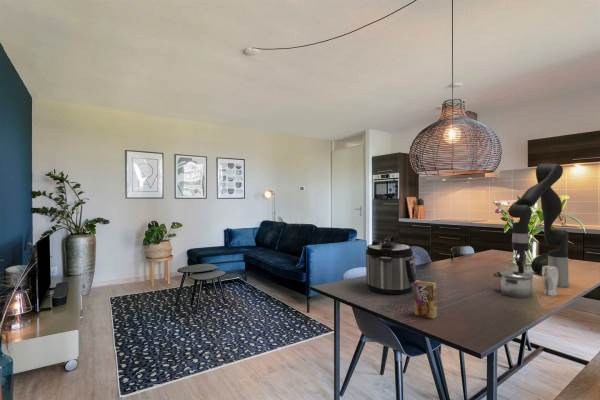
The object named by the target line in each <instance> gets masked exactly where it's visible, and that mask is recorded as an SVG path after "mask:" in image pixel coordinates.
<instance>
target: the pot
mask: <svg viewBox="0 0 600 400" xmlns="http://www.w3.org/2000/svg"><path fill="white" fill-rule="evenodd" d="M497 272H498V271H495V272H494V273H493V277H494V278H498V279H499V278H500V293H501V294H503V295H505V296H509V297H513V298H520V299H527V298H528V299H529V298H532V297H533V291H532V290H533V284H532V283H533V282H532V281H533V280H532V279H533V278H531V279H517V278H510V277H505V276H502V275H500V274H498V273H497Z"/></svg>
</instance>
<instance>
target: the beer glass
mask: <svg viewBox="0 0 600 400" xmlns="http://www.w3.org/2000/svg"><path fill="white" fill-rule="evenodd" d="M541 277H542V281H543V294H544V295H546V296H550V297H557V296H559V295H558V286H557V283H558V268H557V267H554V266H542V275H541Z"/></svg>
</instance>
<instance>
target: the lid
mask: <svg viewBox="0 0 600 400" xmlns="http://www.w3.org/2000/svg"><path fill="white" fill-rule="evenodd" d="M496 272H497V273H498V274H500V275H502V276H505V277H510V278H517V279H531V278H532V279H533V277H534V275H533V274H531V273H530V272H525V271H524V273H523V274H521V273H518V270H510V269H509V270H498V271H496Z"/></svg>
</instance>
